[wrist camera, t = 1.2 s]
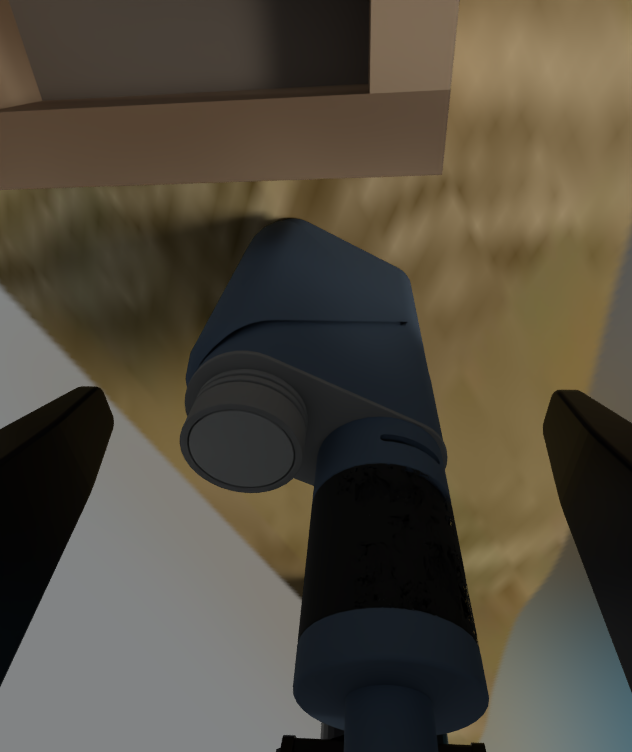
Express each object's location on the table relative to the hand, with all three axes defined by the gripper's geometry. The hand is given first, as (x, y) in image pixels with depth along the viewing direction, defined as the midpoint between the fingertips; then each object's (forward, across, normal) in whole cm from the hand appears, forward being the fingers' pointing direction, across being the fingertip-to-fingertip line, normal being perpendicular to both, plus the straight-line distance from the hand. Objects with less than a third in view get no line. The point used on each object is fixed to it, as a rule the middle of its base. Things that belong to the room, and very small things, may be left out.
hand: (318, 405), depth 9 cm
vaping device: (+6, 0, 0) cm, 6 cm away
